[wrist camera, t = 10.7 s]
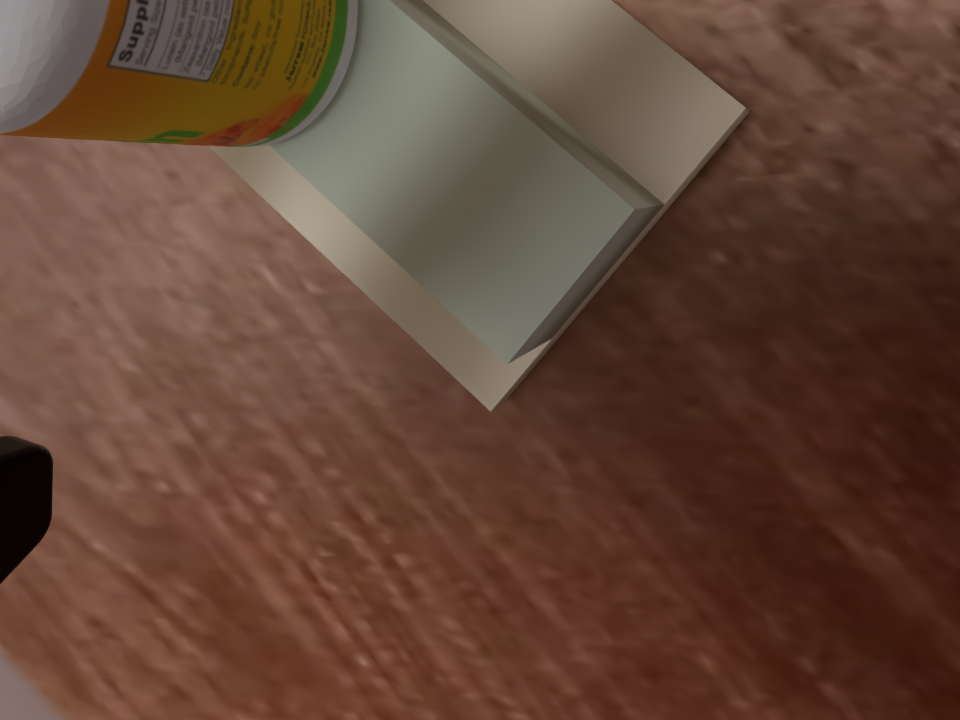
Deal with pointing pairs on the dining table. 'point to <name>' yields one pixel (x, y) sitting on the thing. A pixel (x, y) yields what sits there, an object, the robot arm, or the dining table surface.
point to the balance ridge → (492, 168)
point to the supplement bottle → (171, 68)
